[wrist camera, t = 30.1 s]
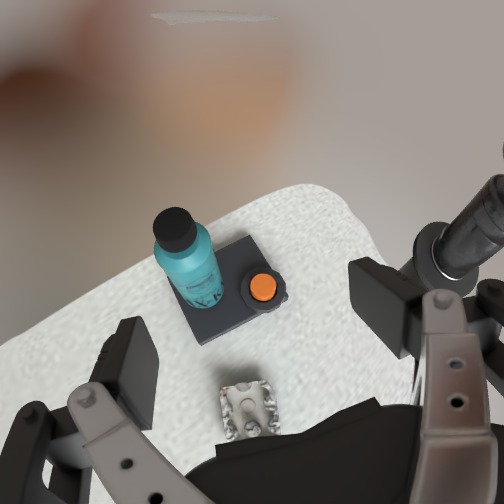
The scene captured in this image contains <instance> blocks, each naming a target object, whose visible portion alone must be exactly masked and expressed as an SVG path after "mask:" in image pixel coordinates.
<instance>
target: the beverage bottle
mask: <svg viewBox="0 0 504 504" xmlns="http://www.w3.org/2000/svg"><path fill="white" fill-rule="evenodd" d="M153 232H154V235H155V237H156V241H155V245H154V255H155V258H156V260H157V262H158V264H159V265H160V266H161V267H162V268H163V270H164V271H165V273H166V274H167V275H168V277H169V279H170V280H171V282H172V284H173V286H175V287H174V288H177V292H178V291H179V292H180V296H181V295H182V296H183V298H184V299H185V300H186V301H185V302H186V303H188V304H189V306H190V305H191V306H192V307H196V309H197V308H210V307H211V306H213V305H215V304H217V302H218V301H219V300H220V298H221V297H222V294H223V290H224V289H225V288H224V285H225V284H224V283H223V281H222V277H223V276H222V277H221V275H222V274H220V270H221V269H220V270H219V267H218V263H217V262H218V259H216V256H215V254H214V253H215V252H214V250H213V247H212V243H211V237H210V235H209V233H208V231H207V230H206V228H205V227H203V226H202V225H201V224H199V223H197V222H195V221H194V220H193V219H192V217H191V215H190V214H189V212H188V211H186V210H185V209H183V208H179V207H172V208H168V209H166V210H164V211H162V212H161V213H160V214H159V215H158V216H157V217H156V219H155V220H154V223H153Z"/></svg>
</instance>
